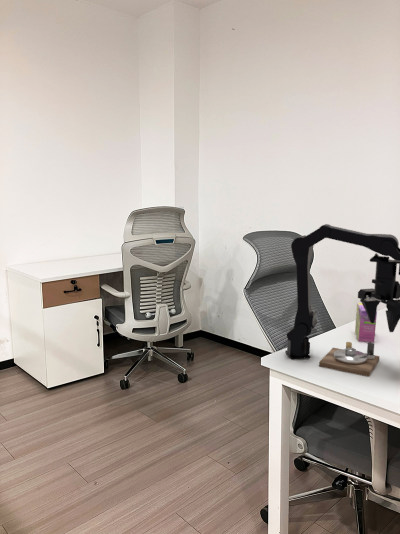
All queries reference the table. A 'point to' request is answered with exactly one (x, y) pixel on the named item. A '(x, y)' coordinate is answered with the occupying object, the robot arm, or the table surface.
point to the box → (364, 325)
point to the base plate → (358, 369)
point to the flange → (354, 355)
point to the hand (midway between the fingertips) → (381, 327)
